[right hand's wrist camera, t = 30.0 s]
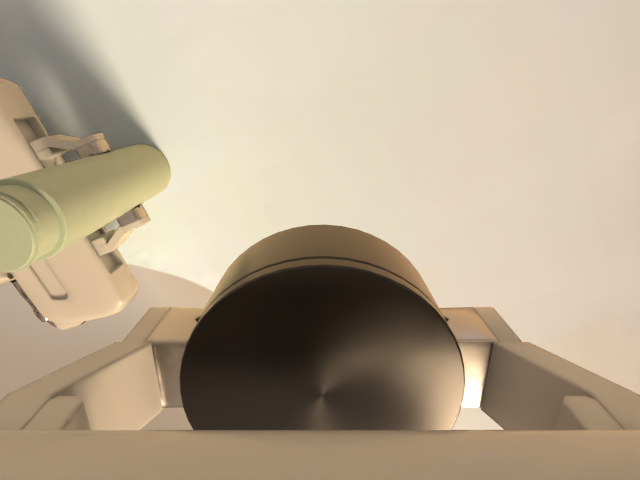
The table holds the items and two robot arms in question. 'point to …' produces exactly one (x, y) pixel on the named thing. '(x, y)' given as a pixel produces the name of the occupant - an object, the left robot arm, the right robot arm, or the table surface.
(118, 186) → the pale green tall cylinder
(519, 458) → the right robot arm
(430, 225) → the table surface
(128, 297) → the left robot arm
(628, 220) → the table surface
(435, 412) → the lid
